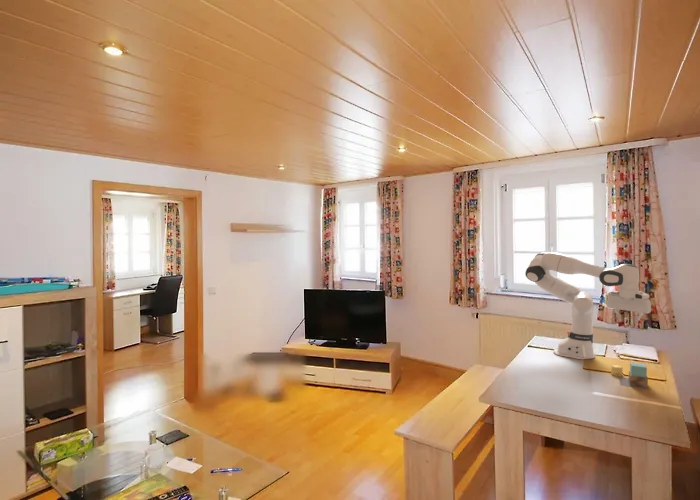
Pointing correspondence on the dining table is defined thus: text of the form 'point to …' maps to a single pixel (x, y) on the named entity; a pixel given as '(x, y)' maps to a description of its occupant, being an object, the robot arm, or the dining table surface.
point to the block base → (638, 381)
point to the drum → (616, 370)
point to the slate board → (626, 383)
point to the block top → (638, 369)
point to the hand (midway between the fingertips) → (627, 318)
